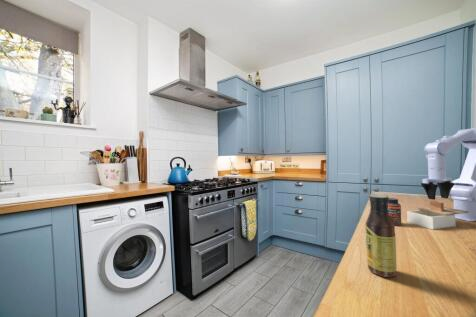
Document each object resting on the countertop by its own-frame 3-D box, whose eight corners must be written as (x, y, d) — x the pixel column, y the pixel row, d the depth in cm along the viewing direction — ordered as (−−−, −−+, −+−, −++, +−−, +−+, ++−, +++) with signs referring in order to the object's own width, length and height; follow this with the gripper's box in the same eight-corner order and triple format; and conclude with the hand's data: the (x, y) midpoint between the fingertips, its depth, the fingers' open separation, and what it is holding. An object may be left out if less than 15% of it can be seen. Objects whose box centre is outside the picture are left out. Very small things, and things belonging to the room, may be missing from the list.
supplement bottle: (388, 225, 86) (386, 199, 86) (382, 221, 92) (381, 197, 92) (404, 226, 84) (403, 200, 84) (397, 222, 90) (396, 197, 90)
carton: (428, 220, 92) (427, 209, 92) (455, 226, 82) (455, 214, 82) (407, 222, 89) (406, 211, 90) (433, 229, 80) (432, 217, 80)
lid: (439, 207, 94) (438, 198, 94) (468, 212, 83) (468, 203, 84) (418, 209, 91) (417, 200, 91) (446, 215, 81) (445, 205, 81)
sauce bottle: (368, 263, 55) (365, 192, 56) (397, 270, 51) (394, 194, 52) (365, 273, 50) (362, 196, 51) (396, 282, 46) (393, 198, 47)
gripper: (434, 169, 84) (436, 201, 84) (460, 168, 87) (461, 199, 87) (416, 169, 91) (418, 198, 91) (441, 168, 94) (442, 196, 94)
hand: (438, 198), depth 90 cm, fingers open, 7 cm apart
